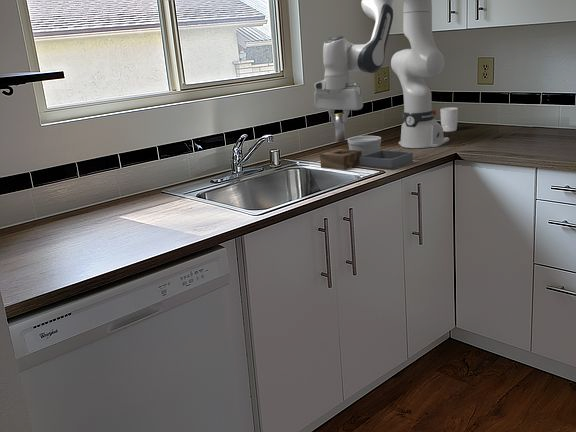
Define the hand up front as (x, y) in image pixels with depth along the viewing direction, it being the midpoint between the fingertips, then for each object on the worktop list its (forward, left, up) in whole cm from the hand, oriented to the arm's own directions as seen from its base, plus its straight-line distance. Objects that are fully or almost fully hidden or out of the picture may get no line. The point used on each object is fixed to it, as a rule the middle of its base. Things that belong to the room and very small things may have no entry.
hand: (339, 121), depth 232 cm
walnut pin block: (0, 0, -17) cm, 17 cm away
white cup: (-80, 0, -17) cm, 82 cm away
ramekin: (-19, -3, -17) cm, 25 cm away
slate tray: (-9, +14, -17) cm, 23 cm away
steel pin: (0, 0, -7) cm, 7 cm away
